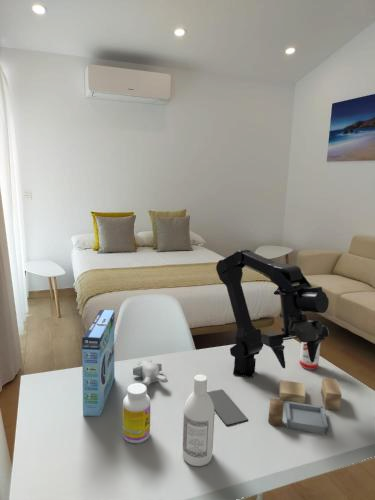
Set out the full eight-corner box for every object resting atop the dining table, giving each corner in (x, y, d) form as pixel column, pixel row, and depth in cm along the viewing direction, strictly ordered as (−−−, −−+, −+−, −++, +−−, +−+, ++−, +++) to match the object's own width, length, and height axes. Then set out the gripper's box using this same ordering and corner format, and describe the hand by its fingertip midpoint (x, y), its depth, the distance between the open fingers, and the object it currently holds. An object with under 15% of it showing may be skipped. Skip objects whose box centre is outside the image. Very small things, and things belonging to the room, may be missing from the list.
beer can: (319, 371, 124) (324, 327, 120) (300, 369, 125) (304, 325, 122) (316, 363, 130) (321, 320, 126) (298, 360, 131) (302, 318, 128)
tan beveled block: (279, 401, 107) (280, 392, 106) (279, 388, 114) (279, 379, 113) (304, 405, 105) (305, 396, 105) (302, 391, 112) (303, 383, 112)
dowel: (268, 425, 96) (270, 405, 94) (268, 417, 99) (270, 397, 98) (282, 428, 95) (284, 407, 94) (281, 419, 98) (283, 399, 97)
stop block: (324, 408, 104) (326, 392, 103) (320, 392, 111) (322, 377, 110) (339, 410, 103) (341, 394, 102) (334, 394, 111) (336, 379, 110)
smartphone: (226, 425, 95) (202, 393, 108) (226, 428, 95) (202, 395, 108) (249, 419, 97) (222, 388, 111) (248, 422, 97) (222, 391, 111)
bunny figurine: (157, 354, 123) (171, 372, 109) (157, 369, 124) (171, 388, 110) (129, 359, 120) (140, 377, 106) (130, 373, 121) (140, 394, 107)
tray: (287, 427, 95) (287, 421, 95) (285, 407, 104) (286, 401, 103) (327, 434, 93) (328, 427, 93) (322, 413, 102) (323, 406, 101)
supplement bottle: (148, 445, 87) (148, 397, 85) (120, 444, 87) (120, 395, 85) (151, 426, 94) (152, 381, 91) (125, 425, 94) (125, 380, 91)
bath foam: (195, 440, 89) (198, 366, 85) (218, 455, 85) (222, 377, 81) (176, 456, 84) (178, 377, 80) (199, 472, 80) (203, 390, 76)
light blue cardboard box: (99, 377, 116) (98, 309, 111) (115, 377, 116) (115, 309, 111) (82, 416, 97) (80, 336, 92) (101, 417, 97) (100, 337, 92)
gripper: (276, 319, 93) (283, 380, 93) (338, 309, 98) (345, 366, 98) (257, 313, 104) (263, 368, 103) (314, 304, 108) (319, 356, 108)
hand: (298, 365), depth 103 cm, fingers open, 9 cm apart
